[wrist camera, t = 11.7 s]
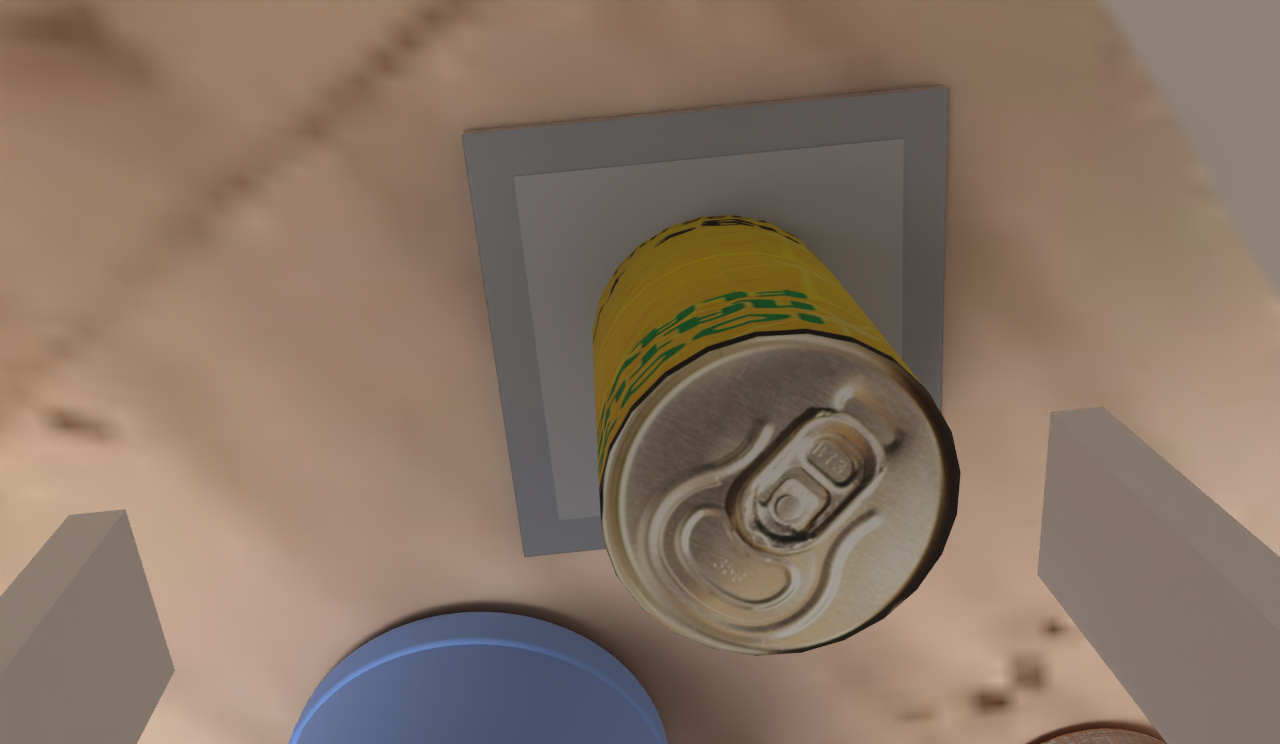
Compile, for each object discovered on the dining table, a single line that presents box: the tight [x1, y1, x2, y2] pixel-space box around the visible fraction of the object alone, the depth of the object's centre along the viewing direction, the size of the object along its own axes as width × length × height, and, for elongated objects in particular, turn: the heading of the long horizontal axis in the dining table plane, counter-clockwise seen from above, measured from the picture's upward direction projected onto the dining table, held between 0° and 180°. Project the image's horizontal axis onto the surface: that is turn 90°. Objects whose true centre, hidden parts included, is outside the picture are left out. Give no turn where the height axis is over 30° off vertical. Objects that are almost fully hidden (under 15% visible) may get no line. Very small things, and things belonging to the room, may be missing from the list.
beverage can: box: [592, 215, 960, 656], centre depth 31 cm, size 9×9×12 cm
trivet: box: [462, 85, 949, 557], centre depth 37 cm, size 16×16×1 cm
